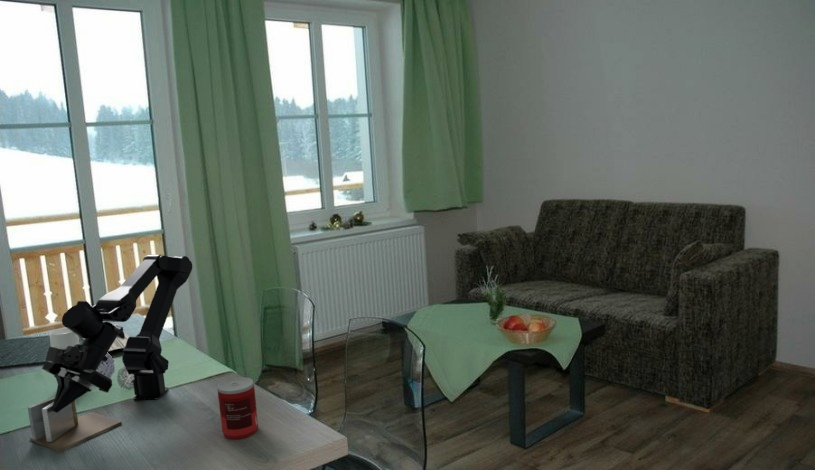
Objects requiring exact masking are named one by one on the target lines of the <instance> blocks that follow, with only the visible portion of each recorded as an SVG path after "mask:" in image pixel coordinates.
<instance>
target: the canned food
mask: <svg viewBox="0 0 815 470" xmlns="http://www.w3.org/2000/svg"><path fill="white" fill-rule="evenodd" d="M217 398H218V406H219V414H220V422H221V423H220V425H221V430H222V431H221V432H222V434H223V435H224V437H225V438H227V439H229V440H241V439H247V438H248V437H251V436H253V435H254V434H256V432H257V431H258V428H259V420H258V412H257V411H258V410H257V399H256V390H255V383H254V380H253V379H252V378H249V377H241V376H240V377H232V378H228V379H226V380H223V381H221V382H220V383H218V385H217Z"/></svg>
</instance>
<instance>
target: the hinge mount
mask: <svg viewBox="0 0 815 470" xmlns="http://www.w3.org/2000/svg"><path fill="white" fill-rule="evenodd" d="M54 400H55V396H53V397H50V398H48V399H45V400H42V401H40V402H38V403H35V404H31V405H28V406H27V412H28V418H29V424H30V425H29V426H30V431H31V436H30V437H29V441H31V442H33V443H36V444H38V445H41V446H42V447H43V446H44V447H45V448H48V449H51V450H53V451H56V452H58V453H61V452H63V451H65V450H68V449H70V448H72V447H74V446H77V445H79V444H81V443H83V442H86V441H87V440H88V441H89V440H90V439H92V438H94V437H97V436H99V435H100V434H103V433H106V432H107V431H108V432H109V430H111V429H114V428H117V427H118V426H121V425H122V421H120V420H118V419H114V418H111V417H108V416H106V415H102V414H99V413H96V412H93V411H90V412H88V413H86V414H83V415H81V416H78V412H77V407H76V400H74V401H73V402H72V403H71V404H72V411H73V417H74V424H75V426H74V427H72V428H71V429H70V430H68V431H67V432H65V433H64V434H62V435H61V436H59V437H58V438H57V439H55V440H54V441H52V442H47V439H46V433H45V426H44V420H43V414H42V409H43V408H44V407H46V406H48V405H49V404H51V403H53V402H54Z"/></svg>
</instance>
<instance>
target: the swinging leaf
mask: <svg viewBox="0 0 815 470" xmlns="http://www.w3.org/2000/svg"><path fill="white" fill-rule="evenodd" d="M53 403H54V402H53ZM53 403H51V404H49V405H48V406H46V407H44V408H43V409H42V414H43V420H44V426H45V433H46V439H47V442H52V441H54V440H55V439H57V438H58V437H59V436H61V435H62V434H64V433H65V432H67V431H68V430H70V429H71V428H72V427H74V426H75V424H74V417H73V411H72V404H71V403H70V404H69V405H67V406H66V407H65V408H63V409H62V410H60V411H59V412H57V413H56V412H54V411H52V407H53Z"/></svg>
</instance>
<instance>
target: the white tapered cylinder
mask: <svg viewBox="0 0 815 470" xmlns="http://www.w3.org/2000/svg"><path fill="white" fill-rule="evenodd" d="M49 340H50V341H49V342H50V346H52V347H60V348H67V347H68V346H73V347H74V346H75V345H77V344H80V338H79V336H78V335H77V334H75V333H74V332H72V331H71V330H69V329H68V328H66V327H60V328H58V329H54V330H52V331H50V332H49Z"/></svg>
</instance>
